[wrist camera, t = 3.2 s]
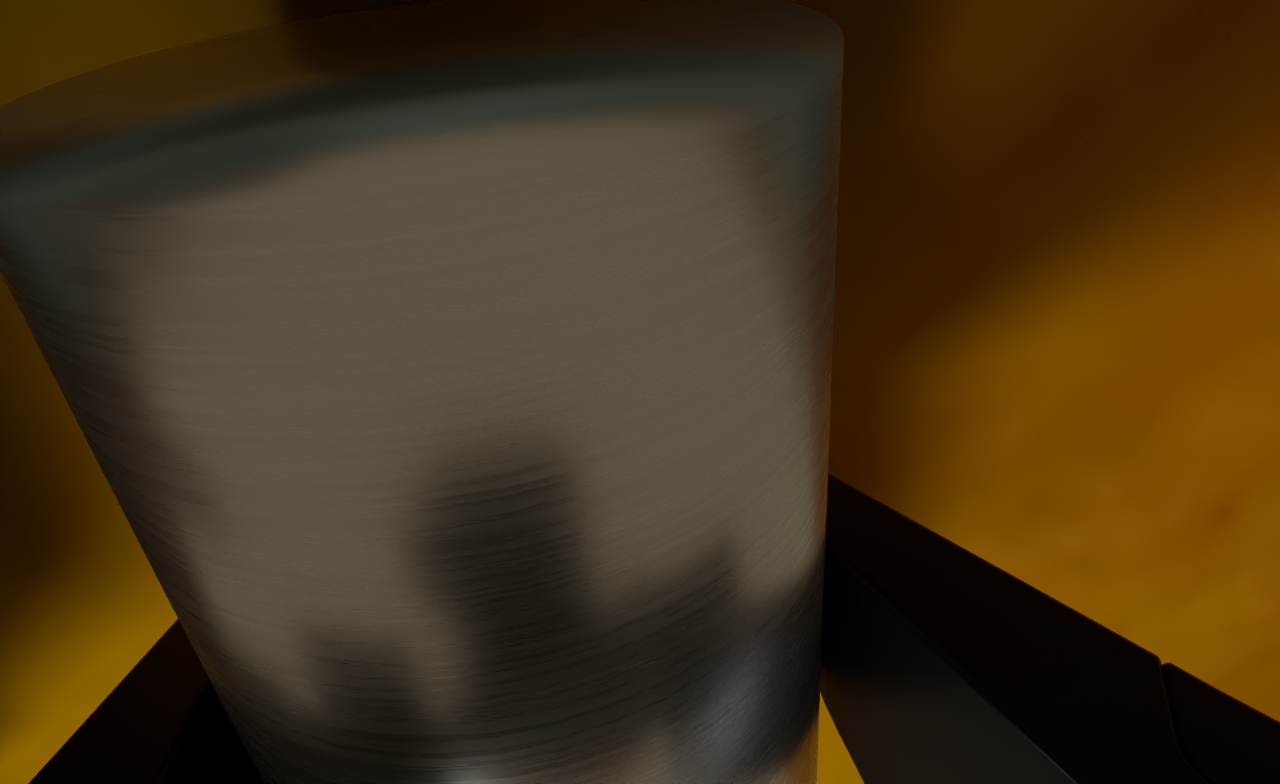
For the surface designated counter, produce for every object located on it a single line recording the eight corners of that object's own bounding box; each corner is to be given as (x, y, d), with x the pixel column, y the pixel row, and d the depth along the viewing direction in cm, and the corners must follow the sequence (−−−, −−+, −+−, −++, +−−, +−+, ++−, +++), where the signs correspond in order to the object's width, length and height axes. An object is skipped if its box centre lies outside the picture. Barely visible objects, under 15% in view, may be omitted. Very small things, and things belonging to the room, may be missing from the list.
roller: (731, 704, 12) (886, 1096, 8) (392, 790, 11) (390, 1263, 7) (700, -33, 7) (1042, 93, 3) (102, 41, 6) (-318, 304, 3)
